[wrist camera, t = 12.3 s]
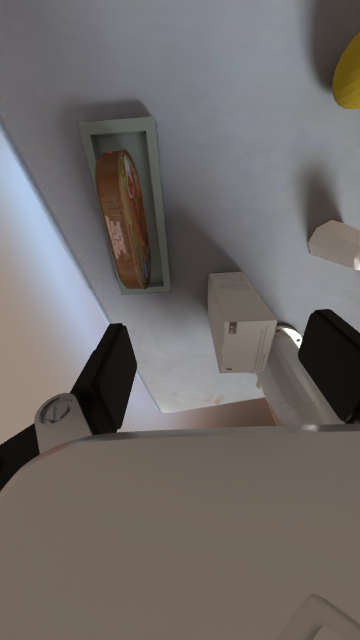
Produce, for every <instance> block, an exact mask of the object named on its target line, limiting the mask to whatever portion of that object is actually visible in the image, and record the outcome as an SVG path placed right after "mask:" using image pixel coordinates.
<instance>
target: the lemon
mask: <svg viewBox="0 0 360 640" xmlns="http://www.w3.org/2000/svg"><path fill="white" fill-rule="evenodd" d="M332 93H333V96H334V99H335V101H336V102H337V104H338V105H339V106H341V107H343V108H345V109H358V108H360V31H359V32H358V33H357V34H356V35H355V36H354V38H353V39H352V40H351V41H350V43H349V44H348V46H347V47H346V49H345V50H344V52H343V53H342V55H341V57H340V60H339V62H338V64H337V66H336V69H335V73H334V76H333V82H332Z"/></svg>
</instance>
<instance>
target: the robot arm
mask: <svg viewBox="0 0 360 640" xmlns="http://www.w3.org/2000/svg"><path fill="white" fill-rule="evenodd" d="M136 370H137V362H136V358H135V355H134V351H133V348H132V344H131V341H130V338H129V334H128V331H127V327H126V326H123V325H122V323H115V324H110V325H109V326H108V328H107V330H106V332H105V334H104V335H103V337H102V339H101V341H100V342H99V344H98V346H97V348H96V350H94V351H93V353H92V354H91V356H90V358H89V360H88V362H87V363H86V365H85V367H84V369H83V371H82V372H81V374H80V376H79V377H78V379H77V381H76V383H75V385H74V386H73V388H72V390H71V392H70V393H63V394H58V395H56V396H54V397H52V398H51V399H49V400H47V401H46V402H45V403H44V404H43V405H42V406H41V407H40V408H39V410H38V411H37V413H36V415H35V420H34V424H32V425H31V426H29V427H28V428H26V429H24V430H23V431H21V432H20V433H18V434H17V435H15V436H14V437H12V438H10V439H9V440H7V441H6V442H4V443H3V444H1V445H0V640H360V333H359V332H358V331H357V330H355V329H354V328H353V327H352V326H351V325H349V324H348V323H347V322H346V321H344V320H343V319H342V318H341V317H339V316H338V315H337V314H336V313H334V312H333V311H332V310H330V309H323V310H315V311H314V312H313V313H312V314H311V315H310V317H309V320H308V323H307V326H306V329H305V332H304V336H303V339H302V337H301V336H300V334H299V333H298V332H297V331H296V330H295V329H293V328H292V327H289V326H285V325H276V328H275V332H274V336H273V340H272V344H271V348H270V352H269V356H268V360H267V363H266V367H265V371H264V372H255V373H256V375H257V378H258V381H257V387H258V388H259V389H262V390H263V392H264V395H265V397H266V399H267V402H268V404H269V407H270V409H271V411H272V414H273V416H274V419H275V421H276V424H277V426H264V427H234V428H206V429H181V430H154V431H136V432H119V433H117V429H120V428H121V426H122V423H123V419H124V415H125V411H126V408H127V404H128V400H129V396H130V392H131V388H132V385H133V381H134V377H135V373H136Z"/></svg>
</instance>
